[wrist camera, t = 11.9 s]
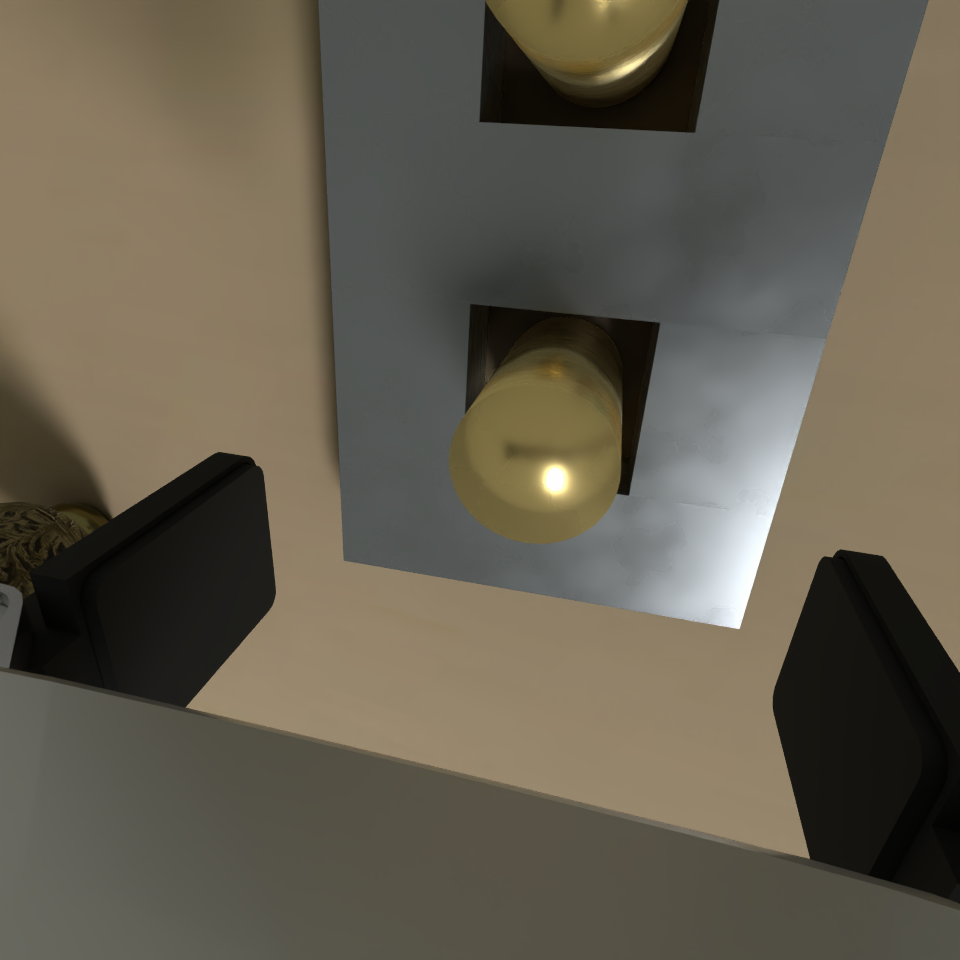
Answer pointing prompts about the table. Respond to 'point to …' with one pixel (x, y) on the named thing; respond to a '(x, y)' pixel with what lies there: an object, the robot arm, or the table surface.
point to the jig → (596, 278)
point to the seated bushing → (593, 43)
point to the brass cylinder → (544, 435)
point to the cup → (39, 537)
